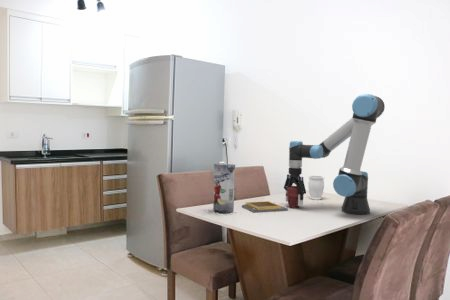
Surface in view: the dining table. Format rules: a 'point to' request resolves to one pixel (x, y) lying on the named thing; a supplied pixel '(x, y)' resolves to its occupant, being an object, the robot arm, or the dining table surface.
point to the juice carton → (224, 187)
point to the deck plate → (263, 207)
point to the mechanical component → (292, 196)
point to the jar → (316, 187)
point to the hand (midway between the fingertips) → (294, 203)
